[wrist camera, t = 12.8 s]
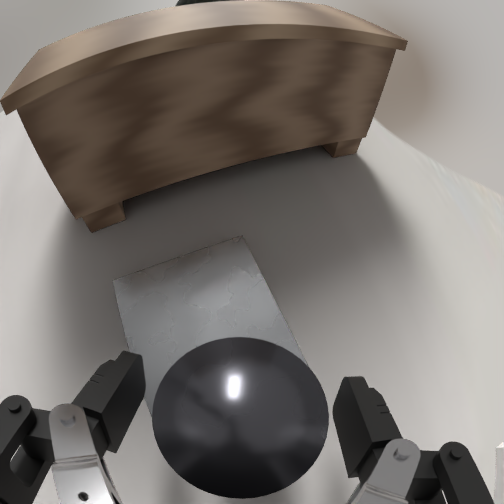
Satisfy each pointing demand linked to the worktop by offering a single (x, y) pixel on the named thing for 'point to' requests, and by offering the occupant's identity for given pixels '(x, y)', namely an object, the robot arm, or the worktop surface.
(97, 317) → the worktop surface
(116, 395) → the robot arm
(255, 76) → the cabinet
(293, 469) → the joystick
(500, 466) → the milk
